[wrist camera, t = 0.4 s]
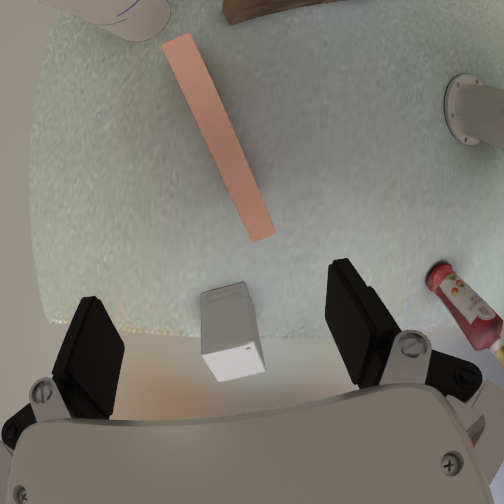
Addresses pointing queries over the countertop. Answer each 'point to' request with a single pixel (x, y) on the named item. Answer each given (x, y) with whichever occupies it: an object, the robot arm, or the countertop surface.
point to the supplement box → (230, 333)
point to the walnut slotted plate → (261, 8)
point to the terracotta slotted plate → (218, 134)
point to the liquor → (468, 310)
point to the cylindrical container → (120, 15)
